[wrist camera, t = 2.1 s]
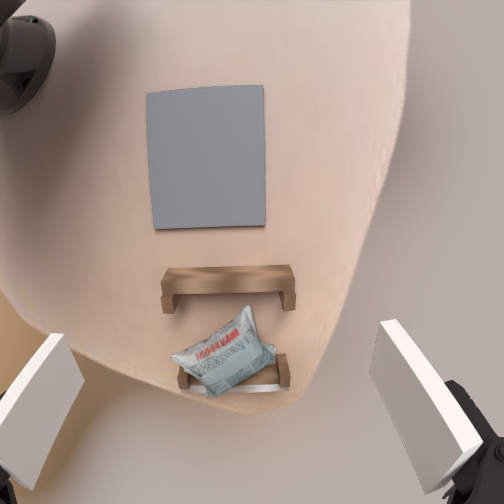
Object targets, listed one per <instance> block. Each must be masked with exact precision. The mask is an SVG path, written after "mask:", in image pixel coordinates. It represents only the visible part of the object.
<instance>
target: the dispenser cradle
mask: <svg viewBox="0 0 504 504" xmlns="http://www.w3.org/2000/svg"><path fill="white" fill-rule="evenodd" d="M161 287H162V296H161V303H162V309H163V313H171V314H174V312H175V310H176V307H177V304H178V301H179V299H180V296H181V294H208V293H246V292H273V291H279V295H280V298H281V302H282V306H283V310H284V311H290V310H295V302H296V294H295V291H294V288H295V277H294V275H293V272H292V270H291V267H290V265H269V266H238V267H203V268H168V270H167V272H166V273H165V275H164V277H163V279H162V281H161ZM184 370H185V369H184V368H183V367H181V366H180V369H179V373H178V378H177V380H178V384H179V388H180V389H181V392H182V393H205V391H206V387H205V386H204V385H203V384H202V383H201V382H200V381H199V380H198V379H197V378H196V377H194V376H193V375H191V374H189V373H187V372H185V371H184ZM289 387H290V373H289V368H288V363H287V358H286V354H277V359H276V364H274V365H269V366H267V367H265V368H263V369H261V370H260V371H258V372H256V373H255V374H253V375H251V376H250V377H248V378H246V379H245V380H243V381H241V382H240V383H238V384H237V385H235V386H234V387H233V388H231V389H230V390H228V391H227V392H225V393H255V392H274V391H288V390H289Z"/></svg>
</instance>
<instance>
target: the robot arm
mask: <svg viewBox="0 0 504 504" xmlns="http://www.w3.org/2000/svg"><path fill="white" fill-rule="evenodd" d="M25 1H26V0H0V114H9V113H13V112H15V111H17V110H19V109H20V108H22V107H23V106H24V105H25V104H26V103H27V102H28V101H29V100H30V99H31V98H32V97H33V96H34V95H35V93H36V92H37V91H38V89H39V88H40V86H41V85H42V83H43V81H44V79H45V77H46V75H47V73H48V71H49V68H50V66H51V63H52V60H53V56H54V51H55V34H54V30H53V28H52V26H51V25H50V24H49V23H48V22H47V21H45V20H43V19H41V18H39V17H37V16H31V15H29V16H12V15H13V14H14V13H15V11H16V10H17V9H18V8H19V7H20V6H21V5H22V4H23V3H24V2H25ZM369 374H370V376H371V378H372V380H373V382H374V384H375V386H376V388H377V390H378V393H379V395H380V397H381V398H382V401H383V403H384V405H385V407H386V409H387V411H388V413H389V415H390V417H391V419H392V422H393V424H394V426H395V428H396V430H397V432H398V434H399V437H400V438H401V441H402V443H403V445H404V447H405V449H406V452H407V454H408V456H409V459H410V461H411V463H412V465H413V468H414V470H415V472H416V475H417V477H418V479H419V481H420V484H421V486H422V489H423V491H424V493H425V495H426V494H429V493H431V492H434V491H436V490H438V489H440V488H442V487H444V486H445V485H446V484H447V483H448V482H449V481H450V480H451V479H452V480H453V482H454V485H453V486H452V487H451V488H450V489H449V490H448V491H447V492H446V493H445V494H444V496H443V497H442V499H445V498H446V497H447V496H448V495H449V498H448V501H447V504H504V437H498V436H497V435H496V433H495V432H494V431H493V429H492V428H491V426H490V425H489V423H488V422H487V420H486V419H485V417H484V416H483V414H482V413H481V412H480V410H479V409H478V407H476V405H475V403H474V402H473V400H472V399H470V396H469V395H468V393H467V392H466V391H465V389H464V388H463V387H462V386H460V385H459V384H457V383H456V382H455V381H453V380H450V381H447V382H443V381H442V380H441V378H440V377H439V376H438V374H437V373H436V371H435V370H434V369H433V367H432V366H431V364H430V363H429V362H428V361H427V359H426V358H425V356H424V355H423V354H422V352H421V351H420V350H419V348H418V347H417V346H416V344H415V343H414V342H413V341H412V339H411V338H410V337H409V335H408V334H407V333H406V332H405V330H404V329H403V328H402V326H401V325H400V324H399V323H398V321H397V320H396V319H395V320H388V321H382V322H380V323H379V328H378V333H377V337H376V342H375V347H374V352H373V356H372V361H371V364H370V369H369ZM84 381H85V380H84V378H83V376H82V374H81V372H80V369H79V367H78V365H77V364H76V361H75V359H74V356H73V354H72V352H71V349H70V347H69V344H68V342H67V340H66V337H65V335H64V334H58V333H51V334H50V336H49V337H48V338H47V339H46V341H45V342H44V343H43V344H42V346H41V347H40V348H39V349H38V351H37V352H36V353H35V354H34V356H33V357H32V358H31V359H30V361H29V362H28V363H27V365H26V366H25V367H24V369H23V370H22V371H21V373H20V374H19V375H18V377H17V378H16V379H15V381H14V382H13V383H12V385H11V386H10V388H9V389H8V390H6V391H5V392H4V393H3V394H1V395H0V504H17V501H16V497H15V493H14V490H13V486H12V484H11V482H10V481H9V480H8V479H9V477H10V476H11V477H12V478H13V479H14V480H15V481H16V482H17V483H18V484H20V485H22V486H24V487H26V488H28V489H31V490H33V488H34V486H35V483H36V481H37V479H38V476H39V474H40V472H41V469H42V467H43V465H44V462H45V460H46V458H47V456H48V453H49V451H50V449H51V447H52V445H53V443H54V440H55V438H56V436H57V434H58V432H59V430H60V428H61V426H62V424H63V422H64V420H65V418H66V416H67V414H68V412H69V410H70V408H71V406H72V404H73V402H74V400H75V398H76V396H77V395H78V393H79V391H80V389H81V387H82V385H83V383H84Z"/></svg>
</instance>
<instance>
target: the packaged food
mask: <svg viewBox="0 0 504 504" xmlns="http://www.w3.org/2000/svg"><path fill="white" fill-rule="evenodd" d="M275 352H276V348H275V347H274V346H273V345H269V344H266V343H263V342H261V341H260V340H259V338H258V336H257V332H256V328H255V324H254V320H253V316H252V311H251V306H250V304H248V305H246V306H244V307H243V308H242V310H241V311H240V312H239V313H238V314H237V316H236V317H235V318H234V319H233V320H232V321H230V322H229V323H228V324H227V325H225V326H224V327H223V328H221V329H220V330H218V331H217V332H216V333H214V334H212V335H211V336H210V337H209V338H208V339H206V340H203V341H201V342H199V343H197V344H195V345H193V346H191V347H189V348H188V349H186V350H183V351H181V352H179V353H176V354H173V355H171V359H172V360H173V361H174V362H176V363H178V364H179V365H180V366H181V367H183V368H184V369H185V370H184V371H185V372H187V373H189V374H191V375H193V376H194V377H196V378H197V379H198V380H199V381H200V382H201V383H202V384H203V385H204V386H205V387H206V391H205V393H206V394H205V396H206V397H207V398H208V397H215V396H219V395H223V394H224V393H225V392H227V391H228V390H230V389H231V388H233V387H234V386H235V385H237V384H238V383H240V382H241V381H243V380H245V379H246V378H248V377H250V376H251V375H253V374H255V373H256V372H258V371H260V370H261V369H263V368H265V367H267V366H269V365H271V364H272V363H273V361H274V359H275V356H276V355H275ZM180 363H181V364H180Z"/></svg>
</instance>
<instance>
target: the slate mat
mask: <svg viewBox="0 0 504 504" xmlns="http://www.w3.org/2000/svg"><path fill="white" fill-rule="evenodd" d="M147 141H148V161H149V177H150V190H151V202H152V213H153V222H154V229H170V228H193V227H219V226H250V225H265V153H264V100H263V85H235V86H213V87H199V88H188V89H178V90H169V91H161V92H154V93H147Z"/></svg>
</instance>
